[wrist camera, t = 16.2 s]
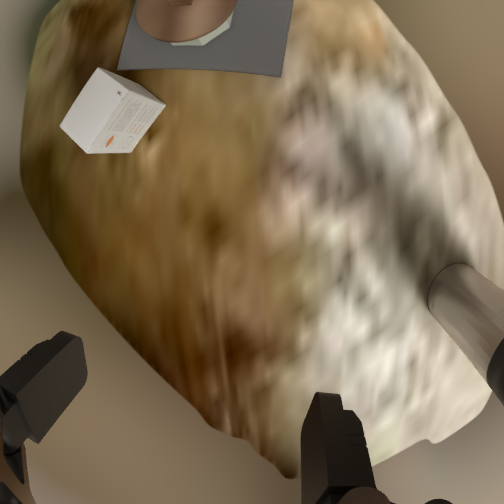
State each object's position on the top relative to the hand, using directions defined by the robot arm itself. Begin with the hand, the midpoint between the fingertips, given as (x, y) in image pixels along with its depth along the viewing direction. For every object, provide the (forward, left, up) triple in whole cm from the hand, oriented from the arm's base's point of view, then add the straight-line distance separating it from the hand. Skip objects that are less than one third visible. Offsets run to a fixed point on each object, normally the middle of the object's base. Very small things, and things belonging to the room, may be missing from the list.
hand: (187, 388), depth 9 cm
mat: (+11, -25, -30) cm, 41 cm away
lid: (+12, -26, -25) cm, 38 cm away
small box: (+18, -11, -30) cm, 37 cm away
